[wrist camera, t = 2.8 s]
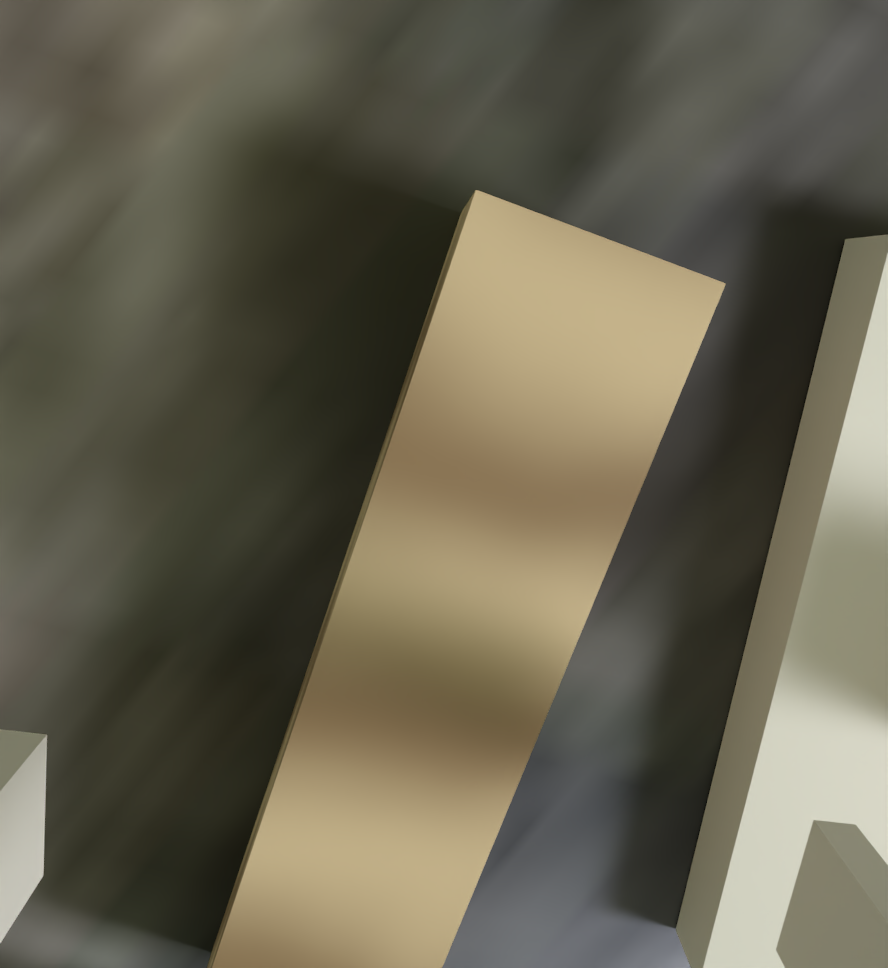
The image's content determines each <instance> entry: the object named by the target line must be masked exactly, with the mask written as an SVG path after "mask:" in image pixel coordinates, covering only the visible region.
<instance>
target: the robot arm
mask: <svg viewBox="0 0 888 968" xmlns="http://www.w3.org/2000/svg"><path fill="white" fill-rule="evenodd" d="M46 757H47V735H46V734H37V733H28V732H19V731H10V730H1V729H0V943H1V941H2V940H3V938H4V937H5V935H6V934H7V932H8V930H9V929H10V927H11V926H12V924H13V923H14V921H15V919H16V918H17V916H18V915H19V913H20V912H21V910H22V908H23V907H24V905H25V904H26V902H27V901H28V899H29V897H30V896H31V894H32V893H33V891H34V890H35V888H36V886H37V885H38V883H39V882H40V880H41V879H42V877H43V873H44V834H45V796H46ZM776 951H777V953H778V955H779V957H780V959H781V961H782V963H783V965H784V967H785V968H888V865H887V864H886V862H885V861H884V860H883V858H882V857H881V856H880V855H879V853H878V852H877V851H876V850H875V848H874V847H873V846H872V845H871V843H870V842H869V841H868V839H867V838H866V837H865V836H864V834H863V833H862V832H861V831H860V829H859V828H858V827H857V825H855V824H846V823H837V822H828V821H819V820H813V823H812V827H811V830H810V834H809V837H808V841H807V844H806V848H805V851H804V854H803V858H802V861H801V865H800V868H799V872H798V875H797V879H796V882H795V885H794V889H793V892H792V896H791V899H790V903H789V906H788V909H787V913H786V916H785V920H784V923H783V927H782V930H781V934H780V937H779V940H778V944H777V947H776Z"/></svg>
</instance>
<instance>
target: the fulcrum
mask: <svg viewBox="0 0 888 968" xmlns="http://www.w3.org/2000/svg"><path fill="white" fill-rule="evenodd" d="M813 820H819V821H828V822H837V823H846V824H855V825H857V827H858V828H859V829H860V831H861V832H862V833H863V834H864V836H865V837H866V838H867V839H868V841H869V842H870V843H871V845H872V846H873V847H874V848H875V850H876V851H877V852H878V853H879V855H880V856H881V857H882V858H883V860H884V861H885V862H886V864H887V865H888V235H879V236H869V237H860V238H851V239H845V242H844V247H843V251H842V255H841V259H840V263H839V267H838V271H837V275H836V279H835V283H834V287H833V291H832V295H831V299H830V304H829V308H828V312H827V316H826V320H825V324H824V328H823V332H822V336H821V340H820V344H819V348H818V352H817V356H816V361H815V365H814V369H813V373H812V377H811V381H810V385H809V389H808V393H807V397H806V401H805V405H804V409H803V413H802V418H801V422H800V426H799V430H798V434H797V438H796V442H795V446H794V450H793V454H792V458H791V462H790V466H789V470H788V474H787V479H786V483H785V487H784V491H783V495H782V499H781V503H780V507H779V511H778V515H777V519H776V523H775V527H774V531H773V536H772V540H771V544H770V548H769V552H768V556H767V560H766V564H765V568H764V572H763V576H762V580H761V584H760V588H759V593H758V597H757V601H756V605H755V609H754V613H753V617H752V621H751V625H750V629H749V633H748V637H747V641H746V645H745V650H744V654H743V658H742V662H741V666H740V670H739V674H738V678H737V682H736V686H735V690H734V694H733V698H732V702H731V707H730V711H729V715H728V719H727V723H726V727H725V731H724V735H723V739H722V743H721V747H720V751H719V755H718V759H717V764H716V768H715V772H714V776H713V780H712V784H711V788H710V792H709V796H708V800H707V804H706V808H705V812H704V816H703V821H702V825H701V829H700V833H699V837H698V841H697V845H696V849H695V853H694V857H693V861H692V865H691V869H690V873H689V878H688V882H687V886H686V890H685V894H684V898H683V902H682V906H681V910H680V914H679V918H678V922H677V926H676V932H677V934H678V937H679V939H680V942H681V944H682V947H683V949H684V952H685V954H686V956H687V959H688V961H689V964H690V966H691V968H785V967H784V965H783V963H782V961H781V959H780V957H779V955H778V953H777V951H776V947H777V944H778V940H779V937H780V934H781V930H782V927H783V923H784V920H785V916H786V913H787V909H788V906H789V903H790V899H791V896H792V892H793V889H794V885H795V882H796V879H797V875H798V872H799V868H800V865H801V861H802V858H803V854H804V851H805V848H806V844H807V841H808V837H809V834H810V830H811V827H812V823H813Z"/></svg>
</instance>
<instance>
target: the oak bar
mask: <svg viewBox="0 0 888 968" xmlns="http://www.w3.org/2000/svg"><path fill="white" fill-rule="evenodd" d="M725 285H726V283H723V282H720V281H718V280H715V279H712V278H710V277H707V276H704V275H702V274H699V273H696V272H694V271H691V270H688V269H686V268H683V267H680V266H678V265H675V264H672V263H670V262H667V261H664V260H662V259H659V258H656V257H654V256H651V255H648V254H646V253H643V252H640V251H638V250H635V249H632V248H630V247H627V246H624V245H622V244H619V243H616V242H614V241H611V240H608V239H606V238H603V237H601V236H598V235H595V234H593V233H590V232H587V231H585V230H582V229H579V228H577V227H574V226H571V225H569V224H566V223H563V222H561V221H558V220H555V219H553V218H550V217H547V216H545V215H542V214H539V213H537V212H534V211H531V210H529V209H526V208H523V207H521V206H518V205H515V204H513V203H510V202H507V201H505V200H502V199H499V198H497V197H494V196H491V195H489V194H486V193H483V192H481V191H478V190H475V192H474V193H473V195H472V197H471V198H470V200H469V201H468V203H467V204H466V206H465V207H464V209H463V210H462V212H461V215H460V218H459V220H458V223H457V226H456V229H455V232H454V235H453V238H452V241H451V244H450V247H449V250H448V253H447V256H446V259H445V262H444V265H443V268H442V271H441V274H440V277H439V280H438V283H437V286H436V289H435V292H434V295H433V298H432V300H431V303H430V306H429V309H428V312H427V315H426V318H425V321H424V324H423V327H422V330H421V333H420V336H419V339H418V342H417V345H416V348H415V351H414V354H413V357H412V360H411V363H410V366H409V369H408V372H407V375H406V378H405V381H404V383H403V386H402V389H401V392H400V395H399V398H398V401H397V404H396V407H395V410H394V413H393V416H392V419H391V422H390V425H389V428H388V431H387V434H386V437H385V440H384V443H383V446H382V449H381V452H380V455H379V458H378V461H377V463H376V466H375V469H374V472H373V475H372V478H371V481H370V484H369V487H368V490H367V493H366V496H365V499H364V502H363V505H362V508H361V511H360V514H359V517H358V520H357V523H356V526H355V529H354V532H353V535H352V538H351V541H350V543H349V546H348V549H347V552H346V555H345V558H344V561H343V564H342V567H341V570H340V573H339V576H338V579H337V582H336V585H335V588H334V591H333V594H332V597H331V600H330V603H329V606H328V609H327V612H326V615H325V618H324V621H323V623H322V626H321V629H320V632H319V635H318V638H317V641H316V644H315V647H314V650H313V653H312V656H311V659H310V662H309V665H308V668H307V671H306V674H305V677H304V680H303V683H302V686H301V689H300V692H299V695H298V698H297V701H296V704H295V706H294V709H293V712H292V715H291V718H290V721H289V724H288V727H287V730H286V733H285V736H284V739H283V742H282V745H281V748H280V751H279V754H278V757H277V760H276V763H275V766H274V769H273V772H272V775H271V778H270V781H269V784H268V786H267V789H266V792H265V795H264V798H263V801H262V804H261V807H260V810H259V813H258V816H257V819H256V822H255V825H254V828H253V831H252V834H251V837H250V840H249V843H248V846H247V849H246V852H245V855H244V858H243V861H242V864H241V866H240V869H239V872H238V875H237V878H236V881H235V884H234V887H233V890H232V893H231V896H230V899H229V902H228V905H227V908H226V911H225V914H224V917H223V920H222V923H221V926H220V929H219V932H218V935H217V938H216V941H215V944H214V946H213V949H212V952H211V956H210V959H209V962H208V966H207V968H442V966H443V964H444V962H445V959H446V957H447V954H448V952H449V950H450V947H451V945H452V942H453V940H454V938H455V935H456V933H457V930H458V928H459V926H460V923H461V921H462V918H463V916H464V913H465V911H466V909H467V906H468V904H469V901H470V899H471V897H472V894H473V892H474V889H475V887H476V885H477V882H478V880H479V877H480V875H481V872H482V870H483V868H484V865H485V863H486V860H487V858H488V856H489V853H490V851H491V848H492V846H493V844H494V841H495V839H496V836H497V834H498V832H499V829H500V827H501V824H502V822H503V819H504V817H505V815H506V812H507V810H508V807H509V805H510V803H511V800H512V798H513V795H514V793H515V791H516V788H517V786H518V783H519V781H520V779H521V776H522V774H523V771H524V769H525V766H526V764H527V762H528V759H529V757H530V754H531V752H532V750H533V747H534V745H535V742H536V740H537V738H538V735H539V733H540V730H541V728H542V726H543V723H544V721H545V718H546V716H547V713H548V711H549V709H550V706H551V704H552V701H553V699H554V697H555V694H556V692H557V689H558V687H559V685H560V682H561V680H562V677H563V675H564V672H565V670H566V668H567V665H568V663H569V660H570V658H571V656H572V653H573V651H574V648H575V646H576V644H577V641H578V639H579V636H580V634H581V632H582V629H583V627H584V624H585V622H586V619H587V617H588V615H589V612H590V610H591V607H592V605H593V603H594V600H595V598H596V595H597V593H598V591H599V588H600V586H601V583H602V581H603V579H604V576H605V574H606V571H607V569H608V566H609V564H610V562H611V559H612V557H613V554H614V552H615V550H616V547H617V545H618V542H619V540H620V538H621V535H622V533H623V530H624V528H625V526H626V523H627V521H628V518H629V516H630V513H631V511H632V509H633V506H634V504H635V501H636V499H637V497H638V494H639V492H640V489H641V487H642V485H643V482H644V480H645V477H646V475H647V472H648V470H649V468H650V465H651V463H652V460H653V458H654V456H655V453H656V451H657V448H658V446H659V444H660V441H661V439H662V436H663V434H664V432H665V429H666V427H667V424H668V422H669V419H670V417H671V415H672V412H673V410H674V407H675V405H676V403H677V400H678V398H679V395H680V393H681V391H682V388H683V386H684V383H685V381H686V379H687V376H688V374H689V371H690V369H691V366H692V364H693V362H694V359H695V357H696V354H697V352H698V350H699V347H700V345H701V342H702V340H703V338H704V335H705V333H706V330H707V328H708V326H709V323H710V321H711V318H712V316H713V313H714V311H715V309H716V306H717V304H718V301H719V299H720V297H721V294H722V292H723V289H724V287H725Z"/></svg>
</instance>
